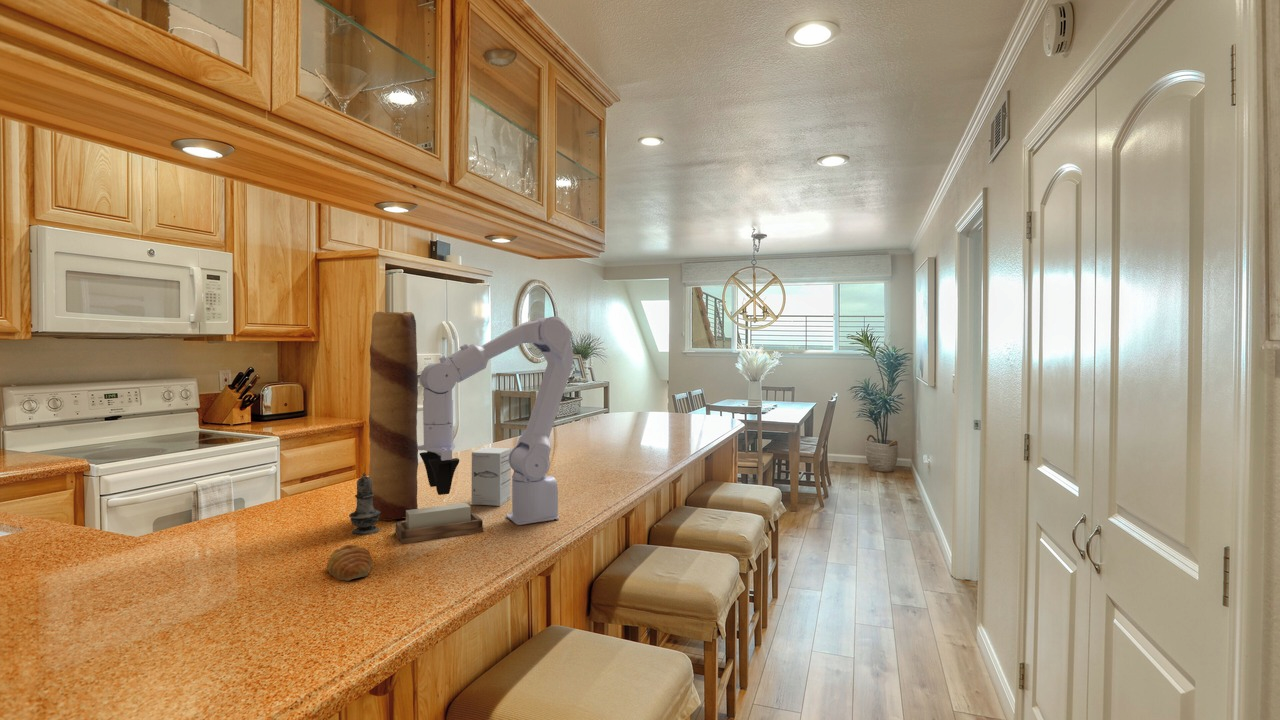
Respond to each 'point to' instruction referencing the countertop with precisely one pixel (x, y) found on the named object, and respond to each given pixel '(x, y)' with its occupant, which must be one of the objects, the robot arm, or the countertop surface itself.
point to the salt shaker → (364, 509)
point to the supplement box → (491, 476)
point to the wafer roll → (393, 414)
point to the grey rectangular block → (437, 515)
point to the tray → (438, 530)
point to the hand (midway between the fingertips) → (439, 490)
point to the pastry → (350, 562)
